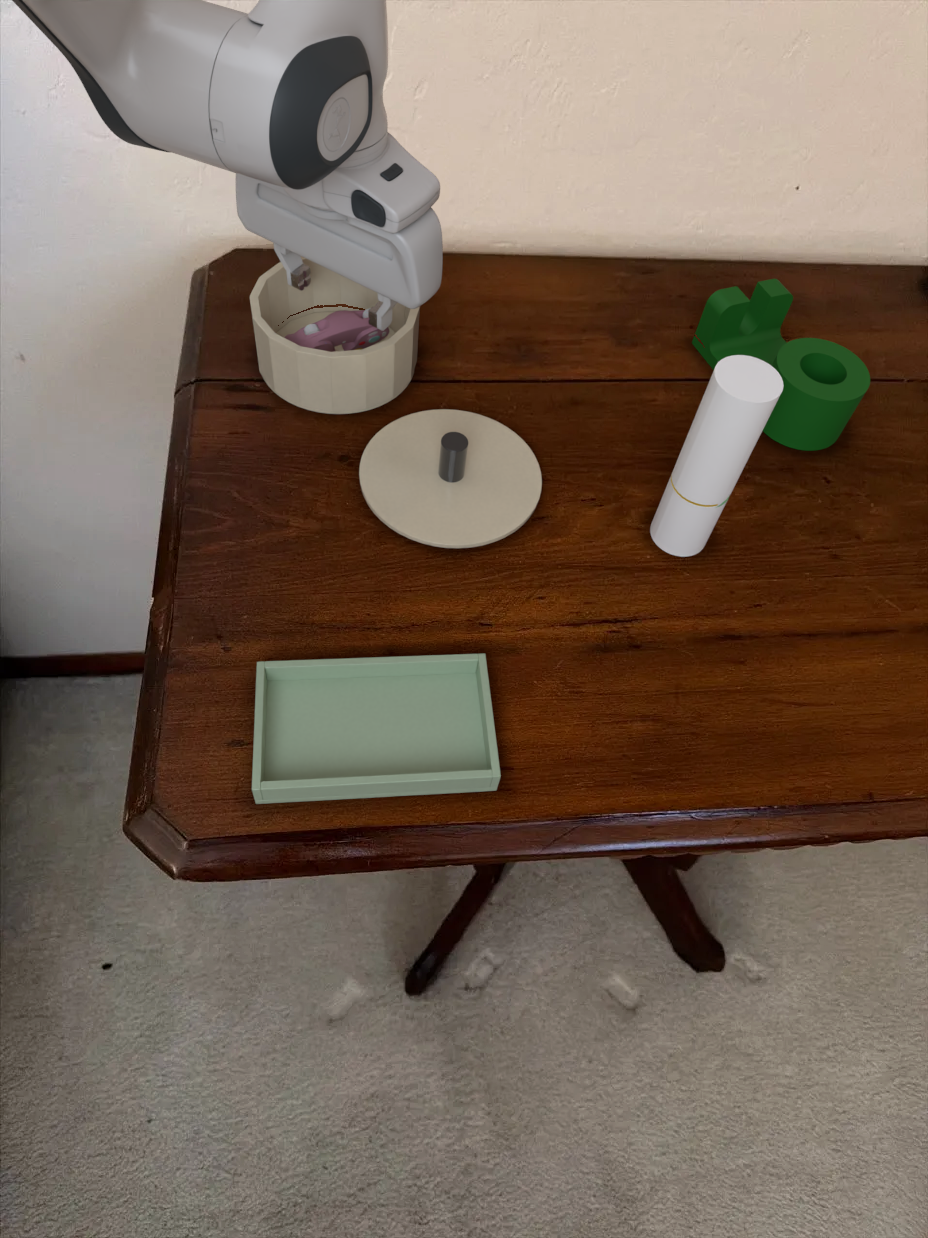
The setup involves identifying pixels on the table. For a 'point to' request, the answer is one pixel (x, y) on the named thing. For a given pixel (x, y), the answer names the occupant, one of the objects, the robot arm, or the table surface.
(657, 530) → the tube
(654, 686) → the table surface
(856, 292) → the table surface
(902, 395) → the table surface
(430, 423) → the lid
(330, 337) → the video game controller
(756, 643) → the table surface
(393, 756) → the tray
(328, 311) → the cream bowl
